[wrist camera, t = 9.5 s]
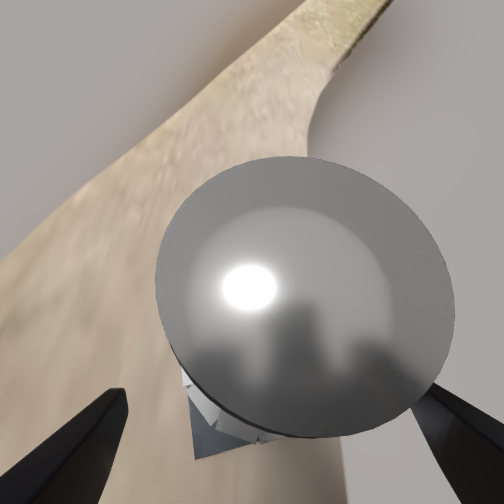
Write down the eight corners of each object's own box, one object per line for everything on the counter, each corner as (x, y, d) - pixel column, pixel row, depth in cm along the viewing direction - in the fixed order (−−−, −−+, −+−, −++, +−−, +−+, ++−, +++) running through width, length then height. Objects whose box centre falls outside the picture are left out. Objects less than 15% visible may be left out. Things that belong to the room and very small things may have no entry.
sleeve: (347, 412, 15) (371, 418, 12) (196, 457, 13) (185, 476, 11) (300, 275, 18) (310, 256, 16) (179, 301, 17) (167, 285, 14)
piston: (296, 406, 14) (537, 504, 3) (207, 394, 14) (69, 437, 3) (299, 316, 16) (435, 161, 5) (222, 306, 17) (181, 132, 5)
